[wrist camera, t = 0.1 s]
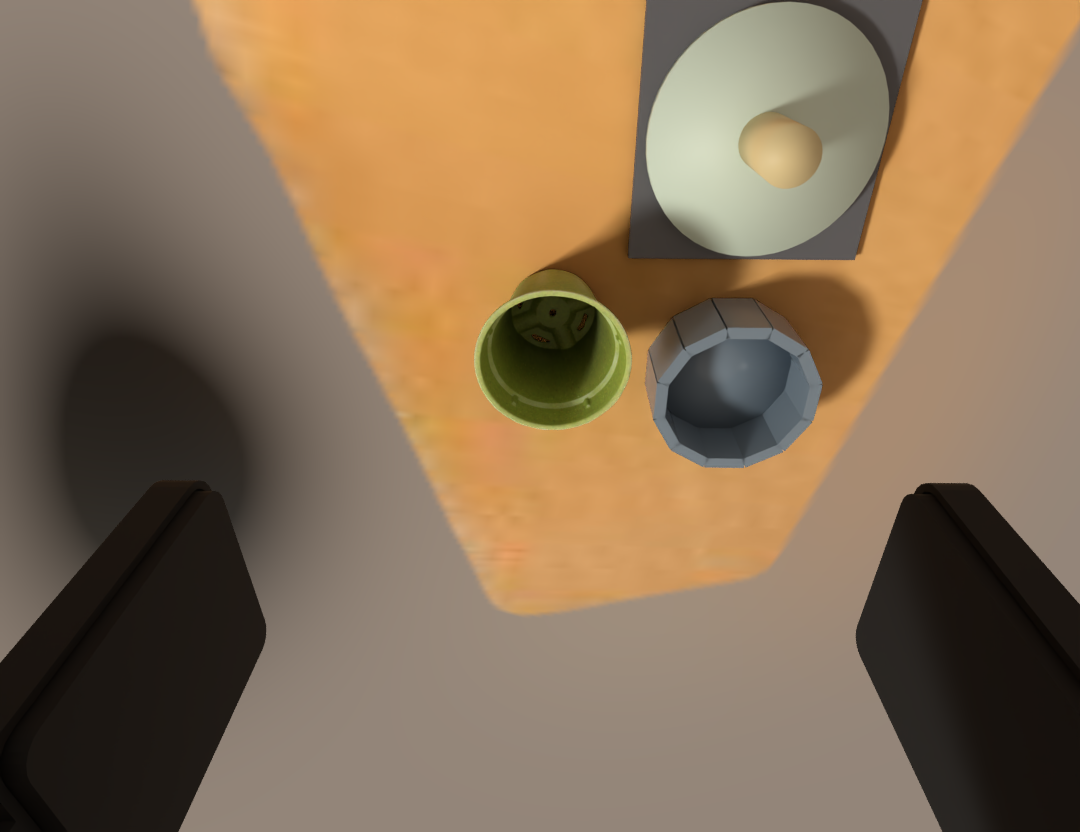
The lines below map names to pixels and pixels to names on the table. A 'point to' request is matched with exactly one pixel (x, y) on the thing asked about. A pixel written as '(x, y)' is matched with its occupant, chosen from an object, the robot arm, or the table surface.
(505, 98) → the table surface
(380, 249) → the table surface
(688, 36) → the mat
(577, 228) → the table surface
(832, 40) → the lid
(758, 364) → the bowl
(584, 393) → the plant pot
